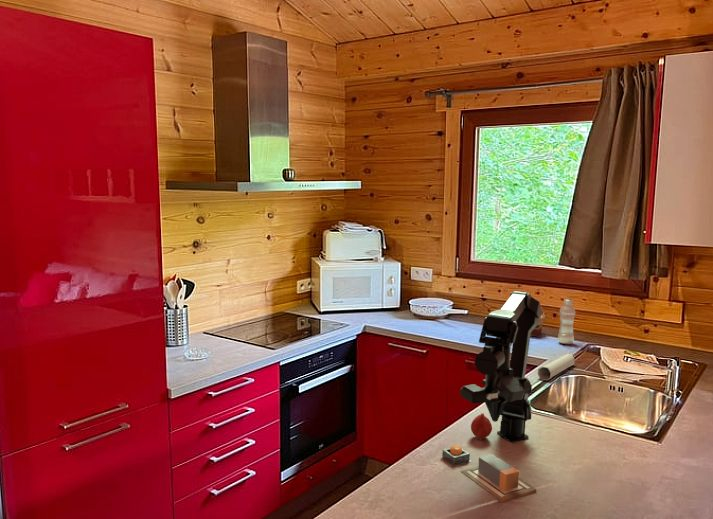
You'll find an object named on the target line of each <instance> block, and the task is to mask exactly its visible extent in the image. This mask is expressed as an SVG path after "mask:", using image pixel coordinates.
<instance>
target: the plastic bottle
mask: <svg viewBox="0 0 713 519" xmlns="http://www.w3.org/2000/svg"><path fill="white" fill-rule="evenodd" d="M573 304H574V299H573V298H568V297H567V298H564V299H563V304H562V306H561V307H560V308H559V320H560V321H559V322H560V323H559V324H560V325H559V330H558V331H559V332H558V334H557V340H558V343H560V344H563V345H572V344H573V343H574V340H575V336H574V320H575V316H576V309H575V307H574V305H573Z"/></svg>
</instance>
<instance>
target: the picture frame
mask: <svg viewBox="0 0 713 519" xmlns="http://www.w3.org/2000/svg"><path fill="white" fill-rule="evenodd" d="M478 467H479V465H478V466H475V467H471V468H467V469H462V470H460V472H461V473H462V474H463V475H465V476H466V477H468V478H469V479H471V481H473V482H474V483H475V484H477V485H478V486H479V487H480V488H482V489H484V490H486V491H487V492H488V493H489V494H491V495H492V496H494V497H495V498H496V501H498V502H499V503H502V502H506V501H510V500H513V499H517V498H519V497H523V496H526V495H529V494H533V493H536V492H537V488H535V487H534V486H532V485H530V484H529V483H528V482H526V481H524V480H523V479H521V478H520V477H519V482H518V487H517V488H514V489H510V490H507V491H504V490H503V489H501V488H500V487H499V486H497V485H496V484H495V483H493V482H492V481H490V480H489V479H487V478H486V477H485V476H483V475H482V474H480V473H479V472H478Z"/></svg>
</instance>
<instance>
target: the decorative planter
mask: <svg viewBox="0 0 713 519" xmlns="http://www.w3.org/2000/svg"><path fill="white" fill-rule="evenodd" d="M541 307H542V305H541ZM542 308H543V307H542ZM546 319H547V317H546V314H545V313H544V310H543V309H542V313H541V317H540V319H539V320H538V325H537V326H536V327H535V328H534V329H533V331H532V332H531V335H530V337H531V336H540V335H542V330H543V326H542V325H543V323H544V322H546Z"/></svg>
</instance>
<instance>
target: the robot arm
mask: <svg viewBox="0 0 713 519" xmlns="http://www.w3.org/2000/svg"><path fill="white" fill-rule="evenodd" d="M541 306H542V305H541V303H540V301H539V300H537V299H535V298H534V297H533V296H532V295H531V293H529V292H525V291H517V290H514V291H511V292H510V295H509V298H508V299H507V300H506V302H504V304H503V305H502V307H501V308H500V309H498V310H492V311H491V312H490V313H488V314H487V316H486V317H485V318H484V320H483V324H482V327H481V332H480V335H479V339H478V343H479V344H484V346H483V349H482V350H481V351H480V352H479V353H478V354H477V355H476V357H474V358H475V359H474V365H475V368H476V370H477V371H478V372H479V373H480V374H483V375H485V379H481V381H482V382H481V384H482V385H484V387H480V386H478V385H477V384H475V383H473V384H472V383H471V384H467V385H463V386H462V387H461V388H460V396H459V397H461V398H462V399H465V400H466V401H468V402H469V403H471V404H474V405H476V404H481V403H485V406H486V409H487V410H488V413H489V416H490V418H491V420H492V421H493V422H495V423H497V422H498V421H499V418H500V417H501V420H500V426H499V429H500V430H498V431H497V432H496V434H497V435H499V436H501V437H503V439H506V440H507V441H509V442H512V443H513V442H517V441H522V440H525V439H529V435H527V434H526V422H527V421H529V420H532V406H531V403H530V400H529V394H532V392H533V391H532V390H533V386H532V383H531V382H530V380H529V378H527V377H526V373H527V372H526V370H527V364H528V356H529V350H530V349H529V348H530V342H531V341H530V340H531V336H530V335H531V332H532V331H533V329H534V328H535V327H536V326H537V325H538V320H539V319H540V317H541V313H542V310H543V307H541ZM511 347H512V348H511Z"/></svg>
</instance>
